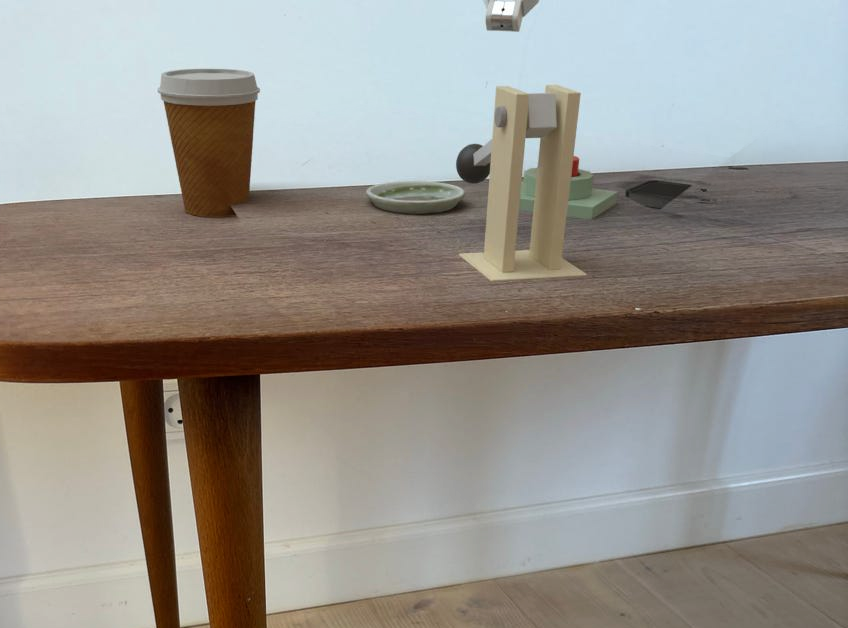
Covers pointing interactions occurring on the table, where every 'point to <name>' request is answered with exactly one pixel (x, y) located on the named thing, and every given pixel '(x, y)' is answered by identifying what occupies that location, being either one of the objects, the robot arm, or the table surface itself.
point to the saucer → (442, 192)
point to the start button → (575, 166)
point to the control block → (571, 195)
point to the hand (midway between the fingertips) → (501, 26)
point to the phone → (656, 192)
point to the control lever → (477, 157)
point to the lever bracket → (549, 192)
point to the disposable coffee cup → (211, 136)
